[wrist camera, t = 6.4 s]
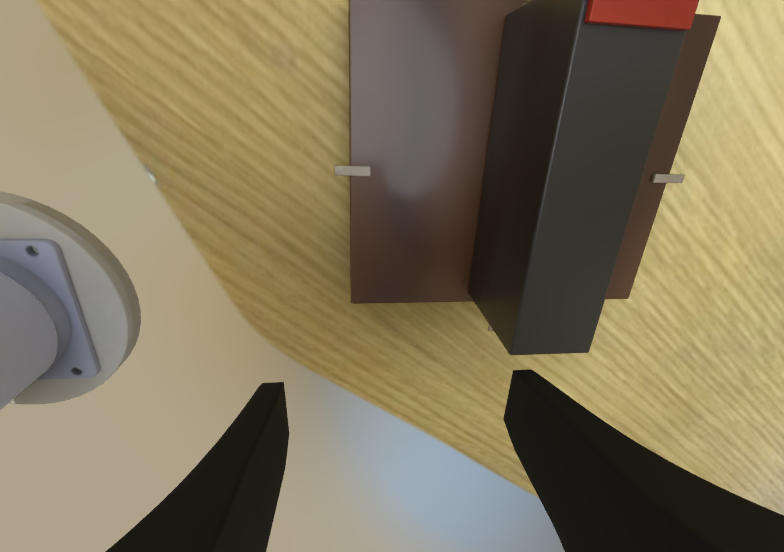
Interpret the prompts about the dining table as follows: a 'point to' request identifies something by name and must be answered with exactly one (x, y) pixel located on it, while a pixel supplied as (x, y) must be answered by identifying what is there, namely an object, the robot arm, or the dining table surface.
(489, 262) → the gray bar
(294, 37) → the dining table surface
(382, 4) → the brown pegged board
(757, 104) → the dining table surface
